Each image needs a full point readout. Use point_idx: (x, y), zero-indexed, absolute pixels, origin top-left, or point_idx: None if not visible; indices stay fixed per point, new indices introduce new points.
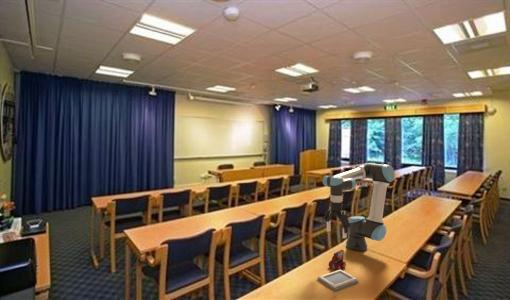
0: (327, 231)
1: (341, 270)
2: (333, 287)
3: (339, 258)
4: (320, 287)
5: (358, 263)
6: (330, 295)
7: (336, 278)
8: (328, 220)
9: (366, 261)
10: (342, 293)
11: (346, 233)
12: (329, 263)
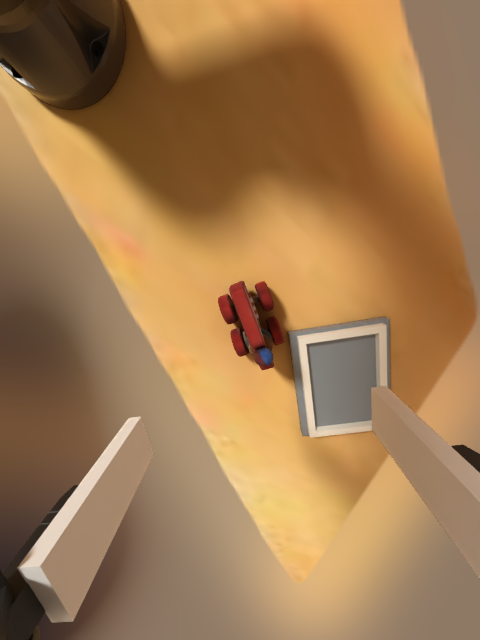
0: (151, 455)
1: (308, 340)
2: None
3: (257, 318)
4: (345, 446)
5: (253, 192)
6: None
7: (337, 384)
8: (16, 618)
9: (249, 128)
10: None
11: (421, 422)
12: (242, 355)
